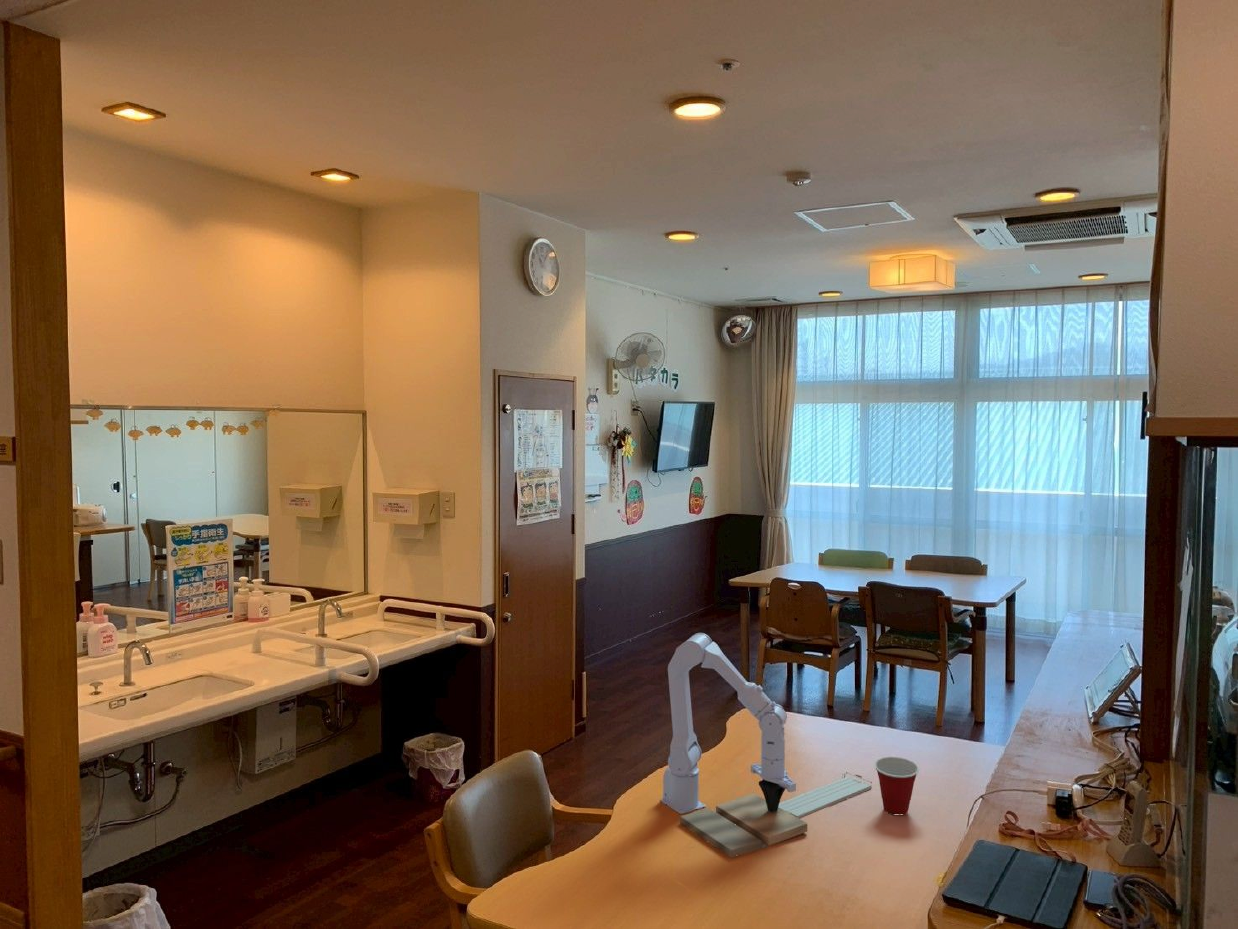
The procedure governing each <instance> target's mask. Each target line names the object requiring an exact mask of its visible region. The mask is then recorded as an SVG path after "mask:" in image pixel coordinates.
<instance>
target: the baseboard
mask: <svg viewBox="0 0 1238 929" xmlns="http://www.w3.org/2000/svg"><path fill="white" fill-rule="evenodd" d="M846 774H849V775H850V773H848V771H846V772H845V773H844V774H843V773H842V776H843V777H842V778H840V779H838V780H835V781H832V782H830V783H828V784H825V785H822V786H820V787H817V788H814V789H812V790H810V791H807V792H805V793H803V794H799V795H797V796H795V797H792V798H789V799H787V800H784V801H782V802H781V801H780V802H779V806H778V807H779V808H781V809H783V810H784V811H786V812H788V813H790V814H792V815H793V816H795V817H797V818H799V819H800V818H803V817H805V816H807V815H811V814H812V813H815V812H816V811H819V810H822V809H824V808H827V807H828V806H829V807H831V806H833V805H835V804H834V803H836V804H838V803H840V801H841V802H843V801H845V800H848V799H850V798H853V797H854V795H855V796H857V795H859V794H858V793H860V794H861V792H862V793H864V792H867V791H869V790H871V789H870V788H873V786H872V785H871V784H872V783H873V782H872V781H869V780H867V782H869V783H866V782H863V781H861V780H858V779H856V778H854V777H857V778H859V779H862V780H864V781H865V779H864V778H862V777H863V776H862V775H858V774H855V775H853V774H852V776H854V777H851V776H847V777H846ZM868 789H869V790H868ZM866 790H867V791H866ZM863 791H864V792H863ZM856 794H857V795H856ZM852 796H853V797H852ZM847 798H848V799H847ZM844 799H845V800H844ZM842 800H843V801H842ZM832 804H833V805H832ZM830 805H831V806H830ZM814 811H815V812H814ZM806 814H807V815H806ZM802 816H803V817H802Z"/></svg>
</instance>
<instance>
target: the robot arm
mask: <svg viewBox="0 0 1238 929" xmlns="http://www.w3.org/2000/svg"><path fill="white" fill-rule="evenodd" d="M700 663H702V664H701V666H700V668H704V669H713V670H714V671H715V672H717V673H718V674H719V675H720V676H721V677H722V678H723V679H724V680H725V681H726V682H727V683H728V684H729V685H730V686H731V687H732V688H734V690H735V691H736V692H737V700H738V701H739V702H740V703H741V704H742V705H743V706H744V707H745V709H746V710H748V711H749V713H750V714H751V715H752V717H754V718H755V719H756V720H757V721H758V728H759V729H760V730H761V738H760V739H761V740H760V741H761V742H760V744H761V745H760V746H761V747H760V748H761V749H760V750H761V751H760V760H761V761H760V763H761V764H759V763H753V764H751V765H750V773H752V774H756V775H758V776H759V777H760V778H761V779H762V780H759V781H758V785H759V788H760V789H761V792H762V793H763V796H764V799H765V800H766V805H767V809H768V811H770V812H774V811H777V810H778V806H779V803H781V799H782V796H783V794H784V792H785V791H787V792H788V793H792V792H796V791H797V783H796V781H795V782H794V781H793V780H792V779H791V777H789V776H788V771H787V770H785V769H786V768H785V766H786V765H785V764H786V763H785V759H786V758H785V757H786V756H785V755H786V751H785V750H786V738H785V734H786V733H785V725H786V723H787V720H788V716H787V713H786V710H785V709H784V707H783V706H782V705H780V704H777V703H776V702H775V701H772V700H771V698H769V697H768V696H767V694H765V692H764V691H763V689H764V688H763V687H762V686H761V685H760V684H759V685H757V684H756V683H755V682H751V681H750V682H748V681H747V680H746V679H745V678H744V676H743V674H741V673H740V672H739V671H738V669H737V668H736V667H735V665H733V663H732V662H731V661H730V659H728V658H727V656H726V655H725V654H724V652H722V649H721V648H720V646H719V645H718V644H717V643H716V642H715V641H712V638H711V637H710V636H709V635H708V634H706V633H704V632H698V633H694V634H693V635H691V636H690V637H689V638H688V639H687V640H686V641H684V642H682V643H681V644H680V645H679V646H677V647H676V648H675V651H674V654H673V655H672V658H671V659H670V661H669V663H668V666H667V675H668V688H669V690H668V691H669V700H670V712H671V726H672V739H671V743H670V746H669V747H670V748H669V749H670V753H669V755H668V758H667V766H668V767H666V769H665V770H664V773H663V775H662V798H660V800H659V801H660V802H661V803H663V804H664V805H666V804H667V805H666V806H668V807H669V808H670V809H672V810H673V811H675V812H677V813H678V814H680V815H682V814H686V813H687V814H688V813H690V812H693V810H694V811H696V810H695V809H698V810H702V809H704V808H703V807H705V808H706V804H705V803H702V802H701V801H700V800H699V798H700V797H699V794H700V793H699V790H700V787H699V786H700V777H699V776H700V769H699V766H698V762H699V761H700V760H701V758H702V753H703V752H702V749H701V747H700V745H699V743H698V739H697V738H698V736H697V735H696V733H695V732H694V725H693V724H694V723H693V713H692V701H691V700H692V698H691V688H690V687H691V686H690V675H689V674H690V672H689V671H690V670H691V669H693V668H694V667H695V666H697V665H699V664H700Z"/></svg>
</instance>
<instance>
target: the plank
mask: <svg viewBox="0 0 1238 929" xmlns="http://www.w3.org/2000/svg"><path fill="white" fill-rule="evenodd" d="M715 812H716V813H718V814H719V815H721V816H723V817H724V818H726V819H727V820H729V821H731V822H732V823H734V824H736V825H737V826H739V827H740V828H742V829H744V830H745V831H747V832H748V833H750V834H752V835H753V836H755V837H756V838H758V839H760V840H761V841H762V843H764V844H765V845H767V846H768V845H770V846H772V845H773V846H774V845H776V844H778V843H781V842H783V841H785V840H789V839H791V838H794V837H796V836H799V835H803V834H804V833H806V832H808V823H807V822H806V821H804V820H802V819H800V818H797V817H795V816H793V815H792V814H790V813H788V812H786V811H784V810H783V809H781V808H779V807H778V810H777V811H774V812H770V811H768V809H767V805H766V800H765V798H762V797H761V796H760V795H757V794H755V793H753V792H752V793H749V794H746V795H743V796H740V797H737V798H734V799H731V800H728V801H725V802H722V803H719V804H716V805H715Z"/></svg>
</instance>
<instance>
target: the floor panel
mask: <svg viewBox="0 0 1238 929" xmlns="http://www.w3.org/2000/svg"><path fill="white" fill-rule="evenodd" d="M679 824H680V825H681V824H682V825H681V826H683V827H684V828H686V829H687V830H689V829H690V830H691V831H690V830H689V831H690V832H692V833H693V832H694V833H693V834H695V835H696V834H697V836H698V837H699V836H700V837H699V838H701V839H702V840H703V841H705V840H706V841H705V842H707V841H708V842H709V843H708V842H707V843H708V844H709V845H711V846H713V847H714V846H715V847H716V849H717V850H718V849H719V851H720V850H721V851H722V852H721V851H720V852H721V853H722V854H724V853H725V854H724V855H726V856H727V855H728V857H729V856H730V857H731V859H733V858H732V857H734V858H736V857H735V856H736V855H740V856H742V855H741V854H743V855H746V854H748V852H749V853H752V852H755V851H758V850H762V849H764V847H765V848H767V847H768V845H766V844H765V843H763V842H762V841H761V840H760V839H758V838H756V837H755V836H753V835H752V834H750V833H748V832H747V831H745V830H744V829H742V828H740V827H739V826H737V825H735V824H734V823H732V822H731V821H729V820H727V819H726V818H724V817H723V816H721V815H719V814H718V813H716V810H713V809H712V808H703V809H699V810H698V811H697V810H696V811H694V812H693V811H692V812H691V813H690V812H689V813H687V814H686V813H685V814H684V815H680V816H679ZM715 847H714V848H715ZM761 848H762V849H761ZM754 850H755V851H754ZM745 853H746V854H745ZM730 857H729V858H730Z"/></svg>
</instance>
